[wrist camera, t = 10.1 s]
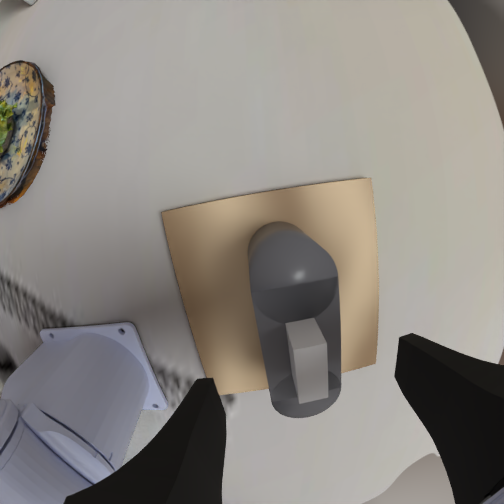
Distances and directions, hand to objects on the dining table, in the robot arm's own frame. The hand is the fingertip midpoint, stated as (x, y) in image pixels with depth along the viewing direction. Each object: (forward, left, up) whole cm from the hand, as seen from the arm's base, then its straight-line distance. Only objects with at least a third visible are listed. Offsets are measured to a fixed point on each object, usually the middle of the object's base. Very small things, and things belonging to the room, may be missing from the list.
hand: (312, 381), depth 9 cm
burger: (-19, +16, -9) cm, 26 cm away
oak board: (0, 0, -8) cm, 8 cm away
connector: (0, 0, -7) cm, 7 cm away
